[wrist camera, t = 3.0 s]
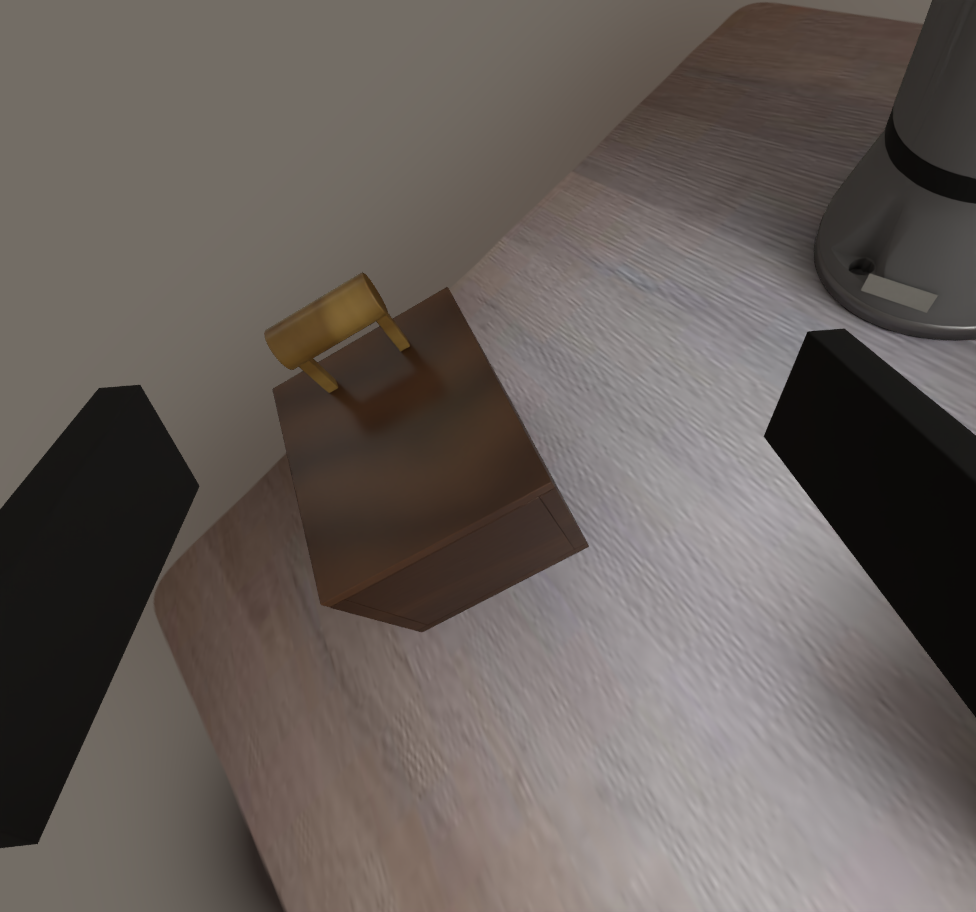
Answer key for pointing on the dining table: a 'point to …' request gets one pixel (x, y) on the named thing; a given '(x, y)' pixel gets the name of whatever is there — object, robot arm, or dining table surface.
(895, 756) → the dining table surface
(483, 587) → the caddy
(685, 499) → the dining table surface
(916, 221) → the robot arm
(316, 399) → the lid
